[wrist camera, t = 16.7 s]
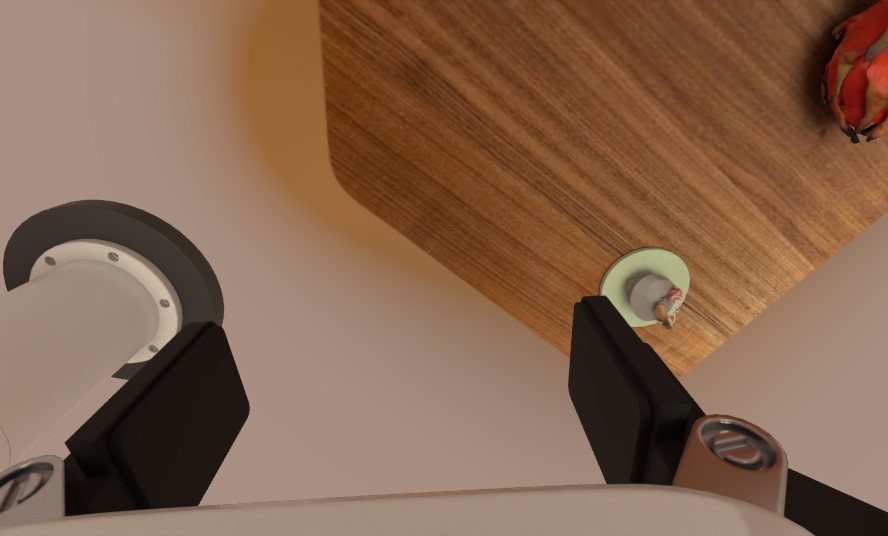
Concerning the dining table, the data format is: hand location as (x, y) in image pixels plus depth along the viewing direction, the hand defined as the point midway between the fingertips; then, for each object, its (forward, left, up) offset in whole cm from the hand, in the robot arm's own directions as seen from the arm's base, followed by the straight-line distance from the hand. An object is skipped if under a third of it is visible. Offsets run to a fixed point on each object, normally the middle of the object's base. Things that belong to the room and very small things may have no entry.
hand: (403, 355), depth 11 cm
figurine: (+20, -13, -26) cm, 35 cm away
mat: (+20, -13, -26) cm, 36 cm away
